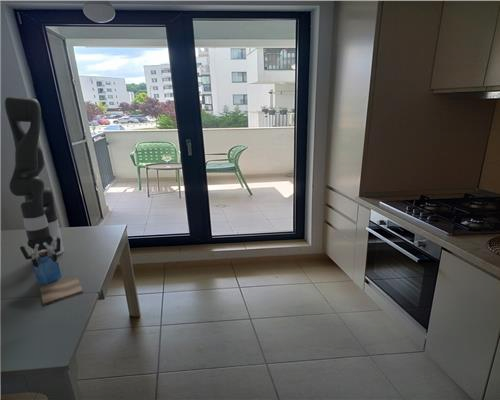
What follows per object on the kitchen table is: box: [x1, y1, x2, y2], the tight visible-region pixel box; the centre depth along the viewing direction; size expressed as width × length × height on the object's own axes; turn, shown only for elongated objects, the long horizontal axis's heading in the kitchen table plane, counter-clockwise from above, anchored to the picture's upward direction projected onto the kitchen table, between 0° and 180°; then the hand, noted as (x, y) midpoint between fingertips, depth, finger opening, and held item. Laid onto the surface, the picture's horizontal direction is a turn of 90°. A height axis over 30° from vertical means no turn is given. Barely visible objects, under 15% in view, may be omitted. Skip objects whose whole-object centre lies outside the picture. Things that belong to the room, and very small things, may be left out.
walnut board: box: [39, 276, 84, 306], centre depth 116 cm, size 13×13×1 cm
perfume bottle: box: [33, 251, 62, 285], centre depth 123 cm, size 6×6×12 cm
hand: (45, 263), depth 123 cm, fingers closed on perfume bottle, 5 cm apart
